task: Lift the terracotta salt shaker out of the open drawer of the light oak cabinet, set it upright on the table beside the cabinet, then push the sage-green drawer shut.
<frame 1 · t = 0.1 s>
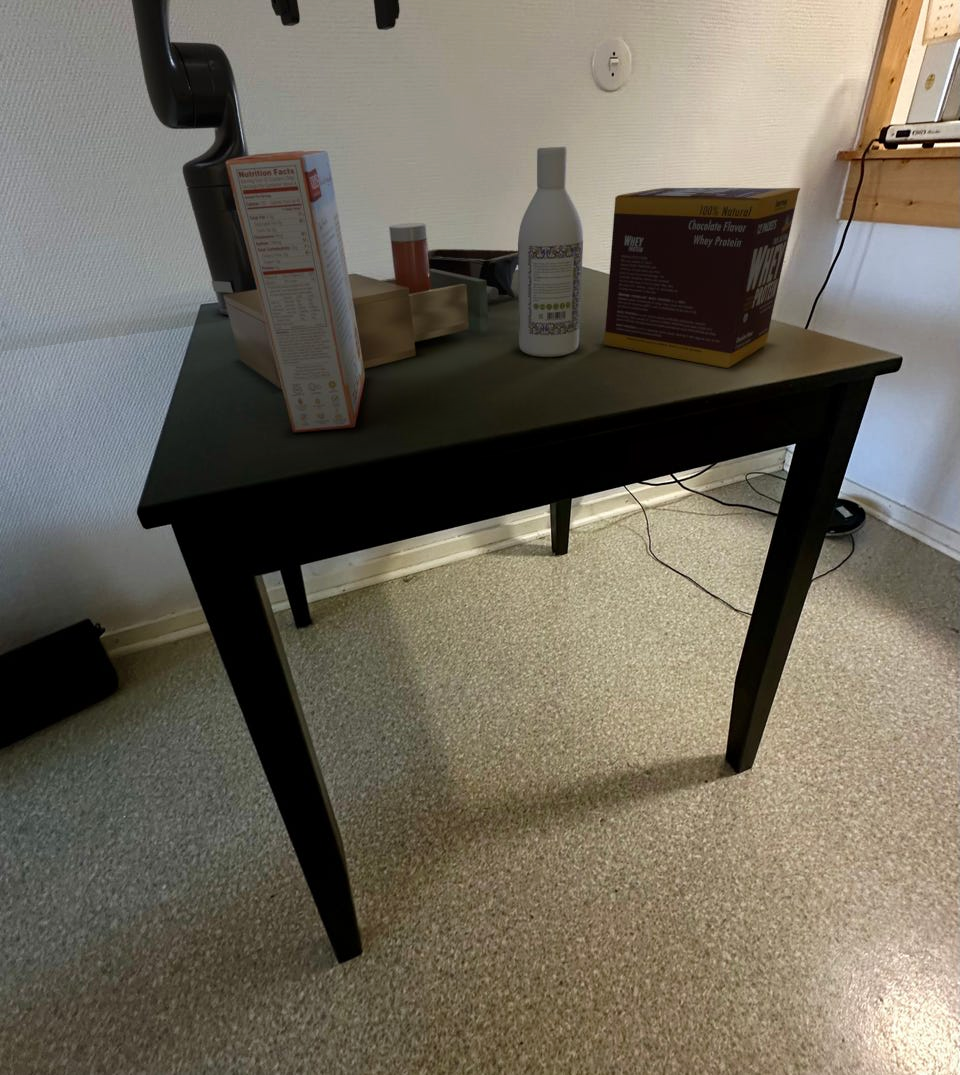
hand: (340, 26, 49), 29 cm above the table, tool pointing down, fingers open, 8 cm apart
cabinet: (327, 358, 72), on the table
cracker box: (331, 406, 59), on the table
bath foam: (548, 351, 71), on the table
drawer: (422, 305, 76), point 4 cm above the table, slide at 10.0 cm, touching salt shaker
supplement box: (684, 347, 70), on the table
baking dish: (462, 304, 94), on the table
salt shaker: (417, 321, 77), point 2 cm above the table, touching drawer
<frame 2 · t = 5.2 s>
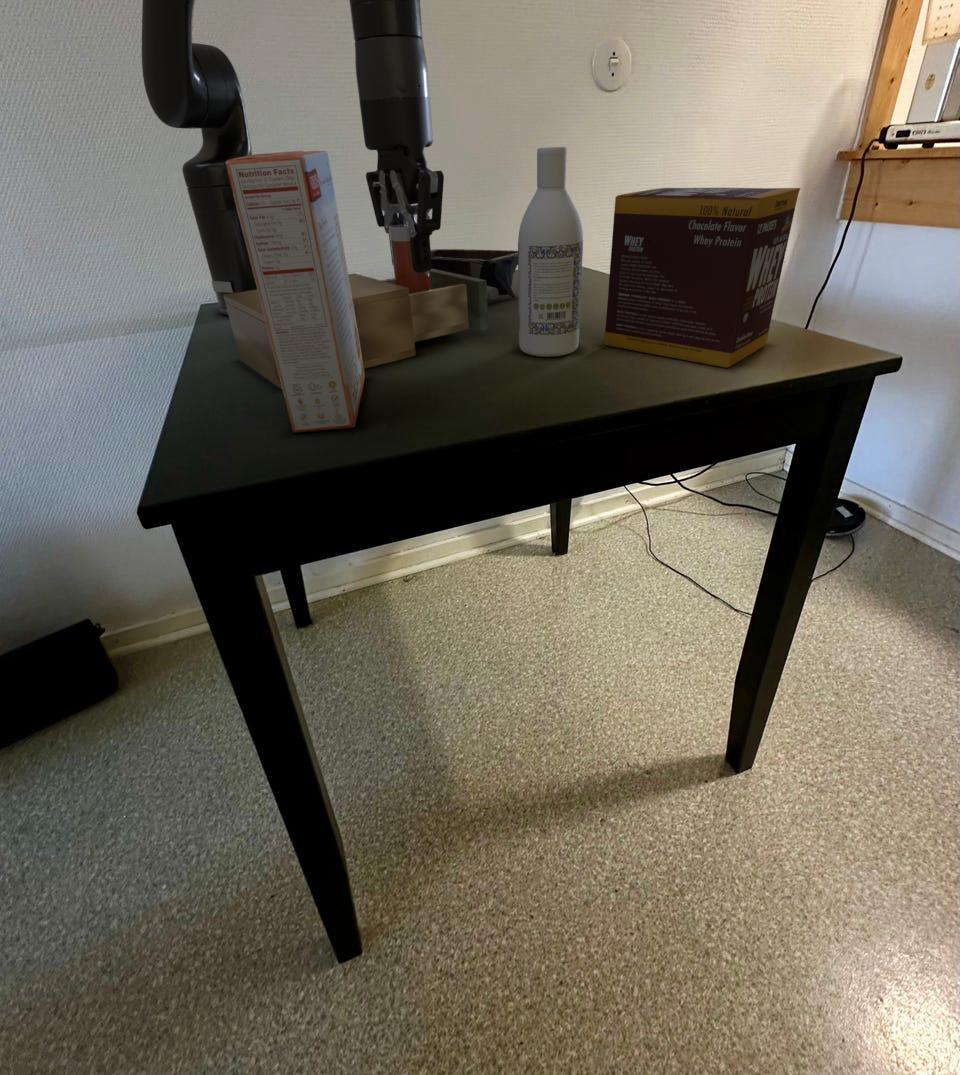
hand: (411, 268, 73), 8 cm above the table, tool pointing down, fingers closed on salt shaker, 4 cm apart
salt shaker: (417, 321, 77), point 2 cm above the table, touching drawer, gripper
everything else where it was.
when the fingers open (6 cm above the table, at t = 11.7 s): salt shaker stays where it is, on the table.
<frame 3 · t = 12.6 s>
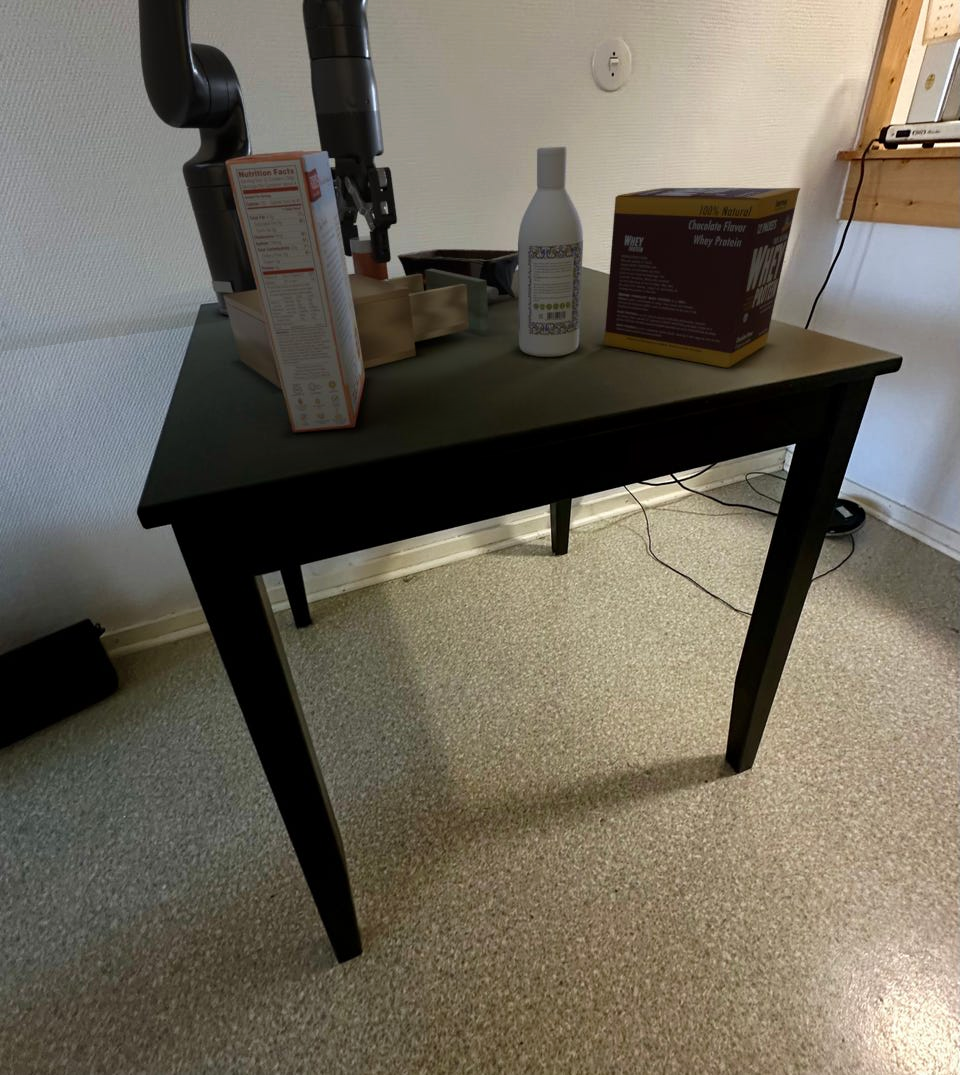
hand: (367, 259, 80), 8 cm above the table, tool pointing down, fingers open, 8 cm apart
drawer: (422, 305, 76), point 4 cm above the table, slide at 10.0 cm
salt shaker: (378, 324, 85), on the table
everything else where it was.
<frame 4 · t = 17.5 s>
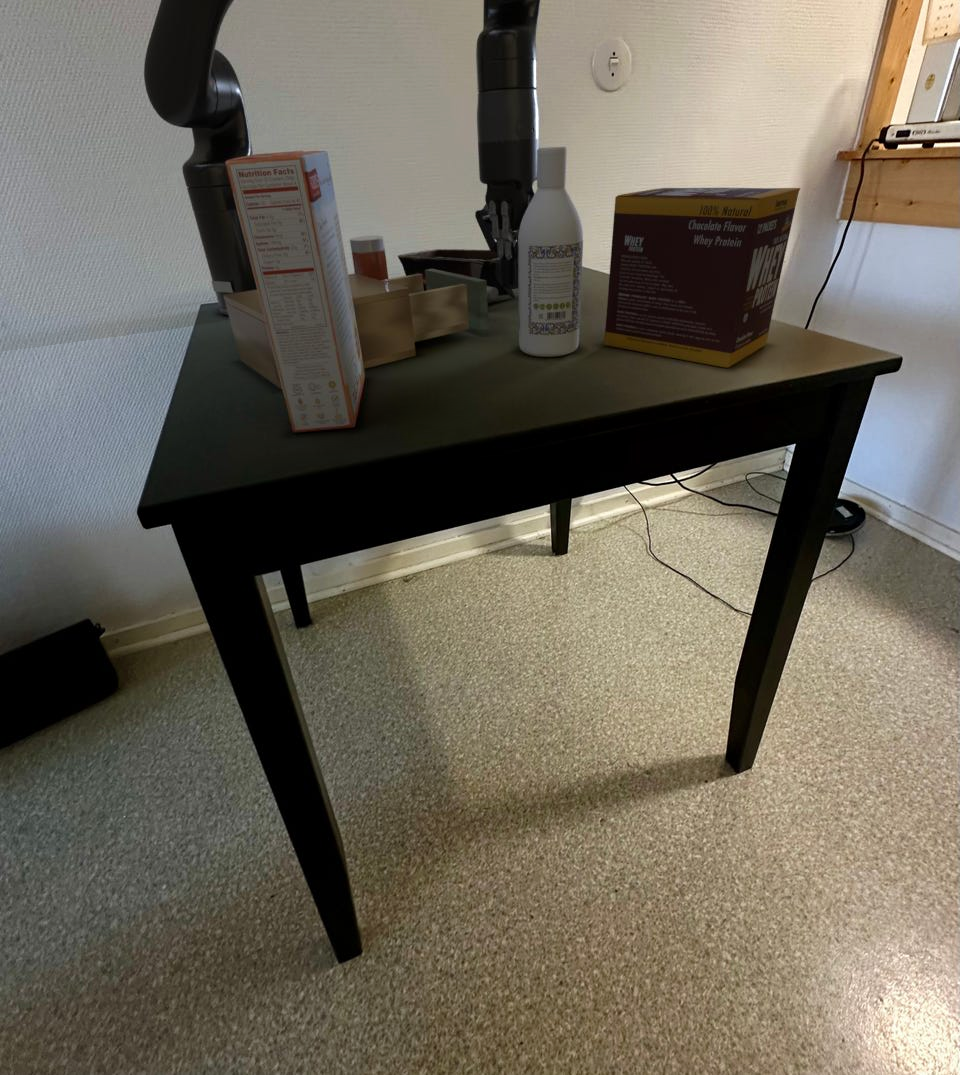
hand: (511, 287, 83), 4 cm above the table, tool pointing down, fingers closed
baking dish: (462, 304, 94), on the table, touching gripper
everything else where it was.
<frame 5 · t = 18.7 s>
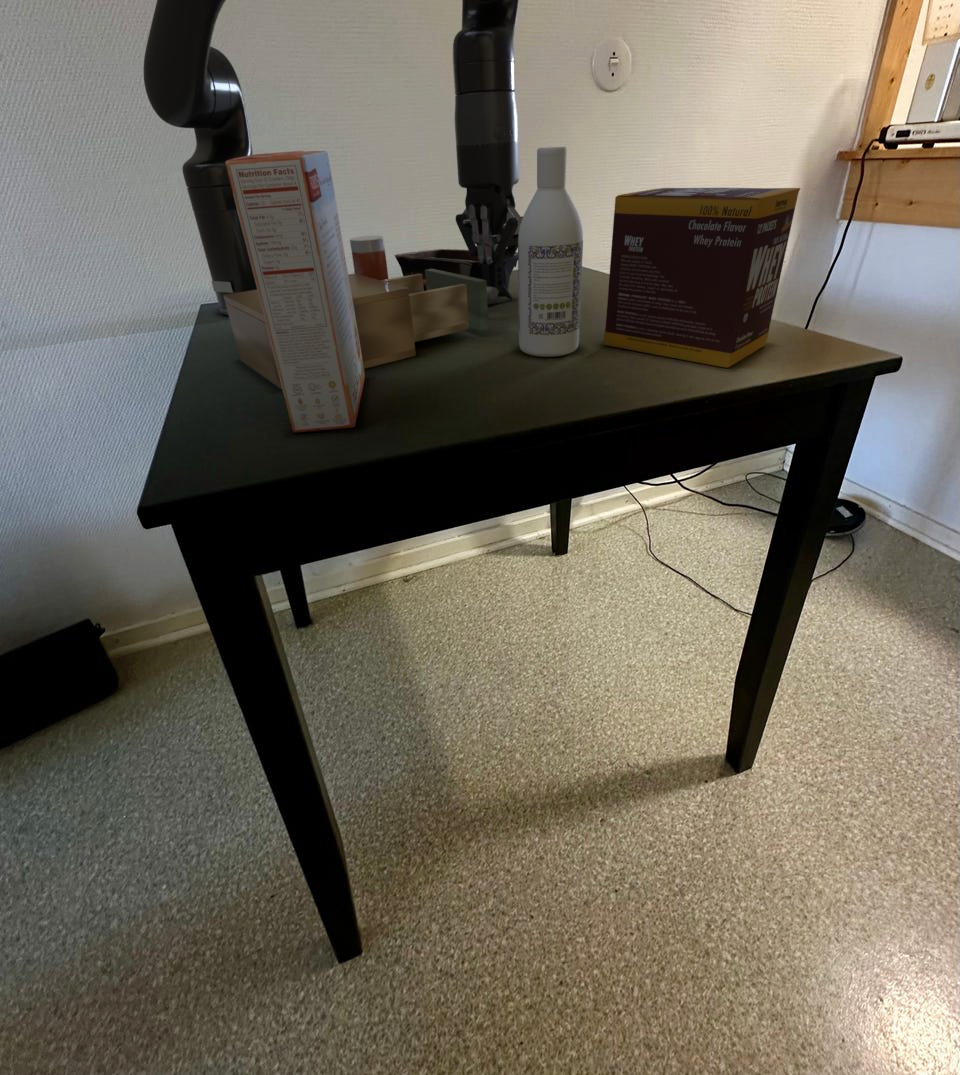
hand: (493, 292, 82), 4 cm above the table, tool pointing down, fingers closed
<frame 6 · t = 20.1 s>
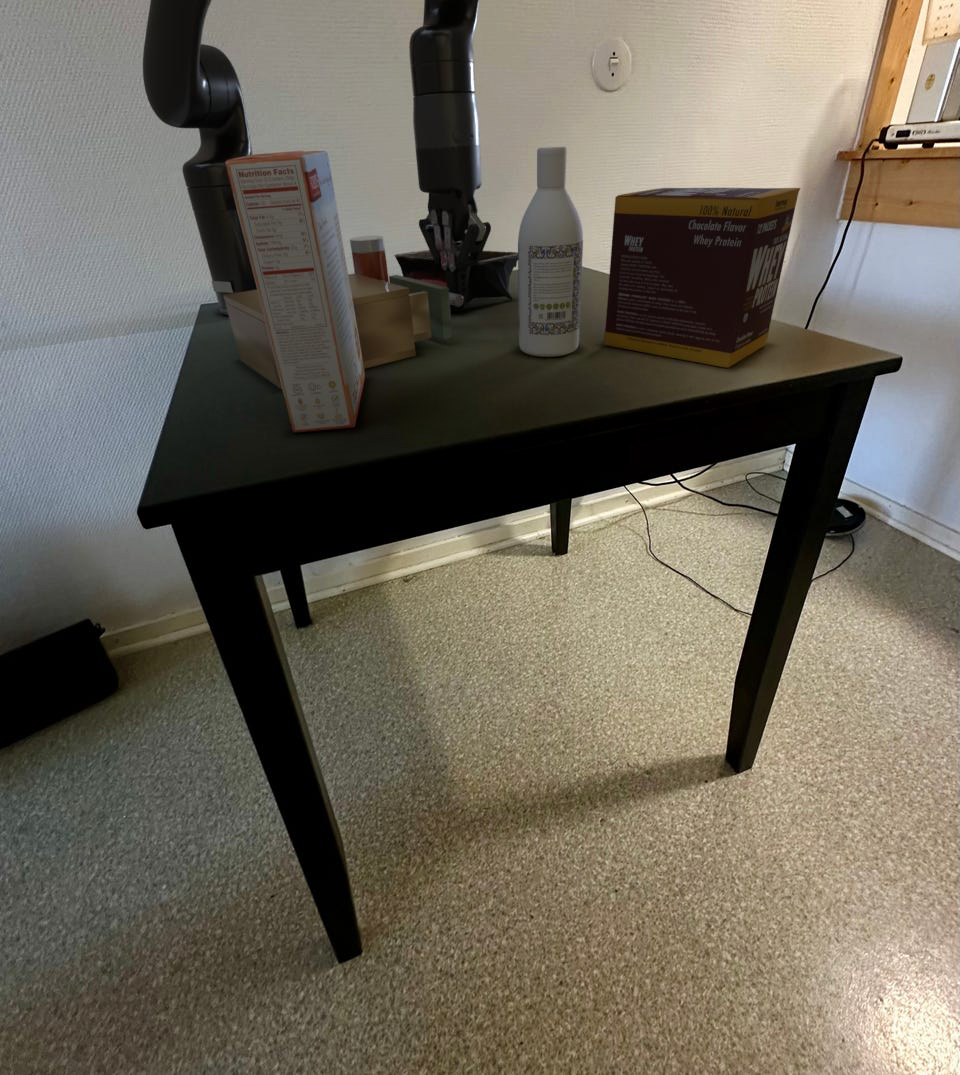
hand: (458, 300, 79), 3 cm above the table, tool pointing down, fingers closed
drawer: (384, 313, 74), point 4 cm above the table, slide at 4.4 cm, touching gripper
baking dish: (458, 304, 93), on the table
everything else where it was.
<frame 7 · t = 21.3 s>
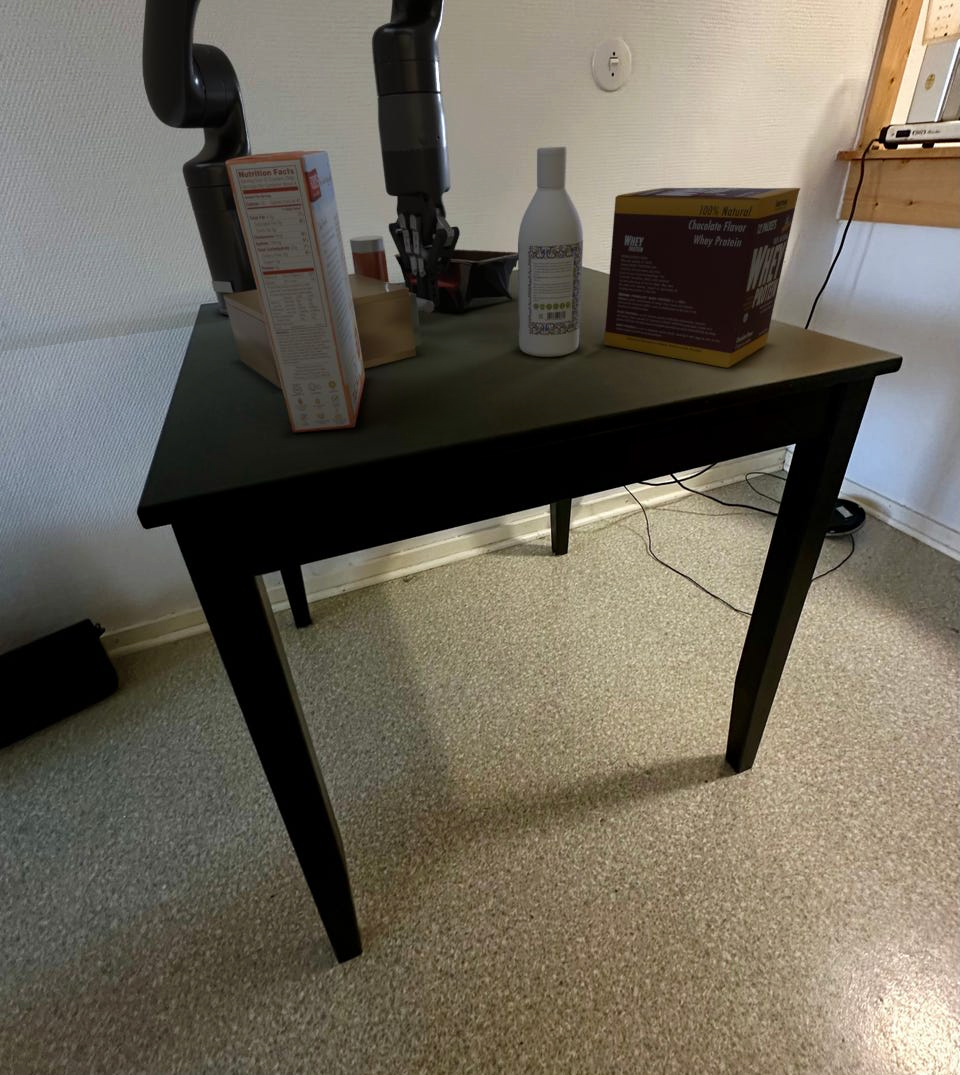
hand: (429, 306, 77), 3 cm above the table, tool pointing down, fingers closed
drawer: (351, 319, 72), point 4 cm above the table, slide at 0.0 cm, touching cabinet, gripper
everything else where it was.
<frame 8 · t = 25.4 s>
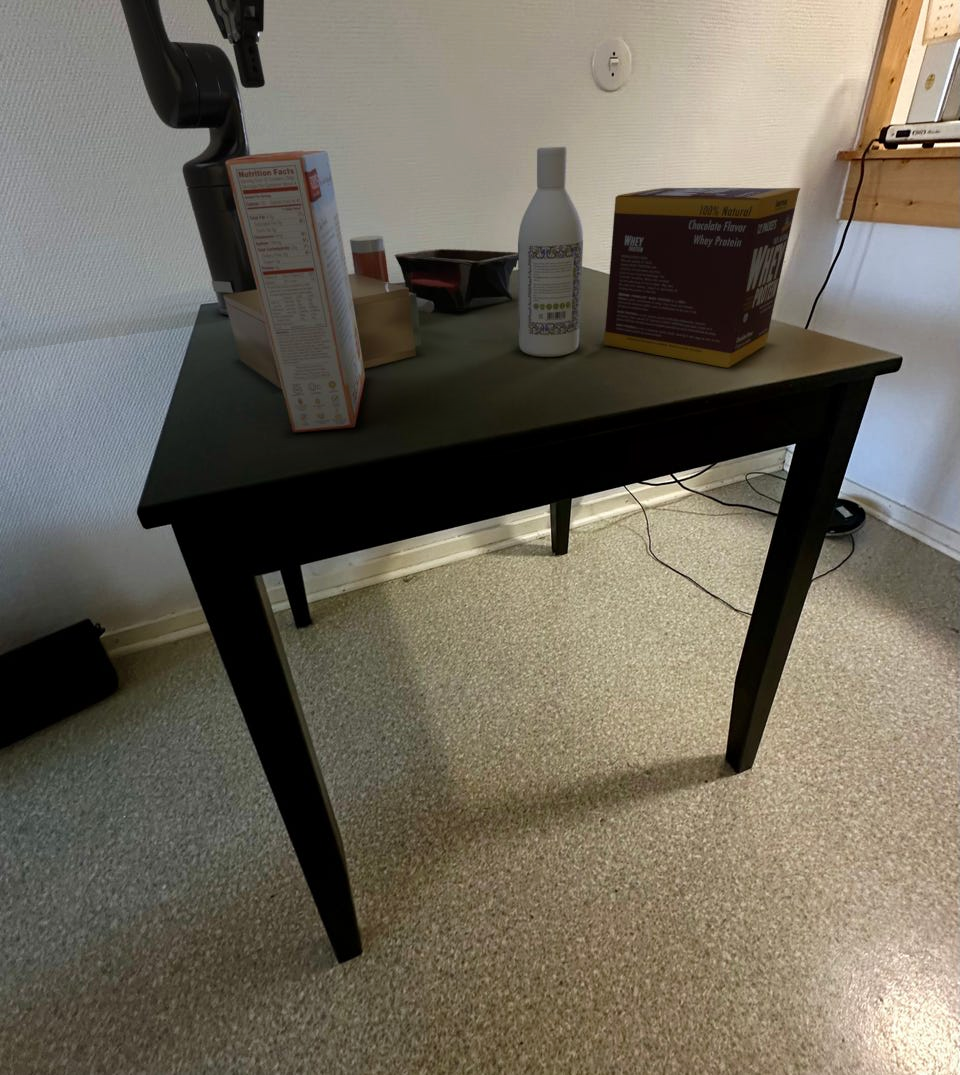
hand: (253, 87, 66), 27 cm above the table, tool pointing down, fingers closed
drawer: (351, 319, 72), point 4 cm above the table, slide at 0.0 cm, touching cabinet
everything else where it was.
at the end: salt shaker inside the target area (0.1 cm from its centre), on the table; salt shaker tilted 0°; drawer slide at 0.0 cm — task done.
